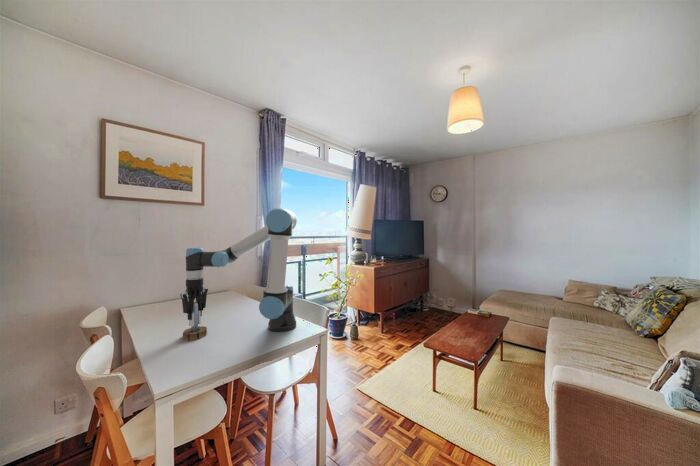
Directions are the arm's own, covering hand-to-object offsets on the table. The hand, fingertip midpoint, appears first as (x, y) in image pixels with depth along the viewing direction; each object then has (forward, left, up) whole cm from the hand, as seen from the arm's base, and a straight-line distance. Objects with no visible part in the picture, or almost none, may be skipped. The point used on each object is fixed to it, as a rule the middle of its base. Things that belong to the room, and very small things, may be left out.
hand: (194, 324), depth 125 cm
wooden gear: (0, 0, -6) cm, 6 cm away
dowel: (0, 0, -4) cm, 4 cm away
